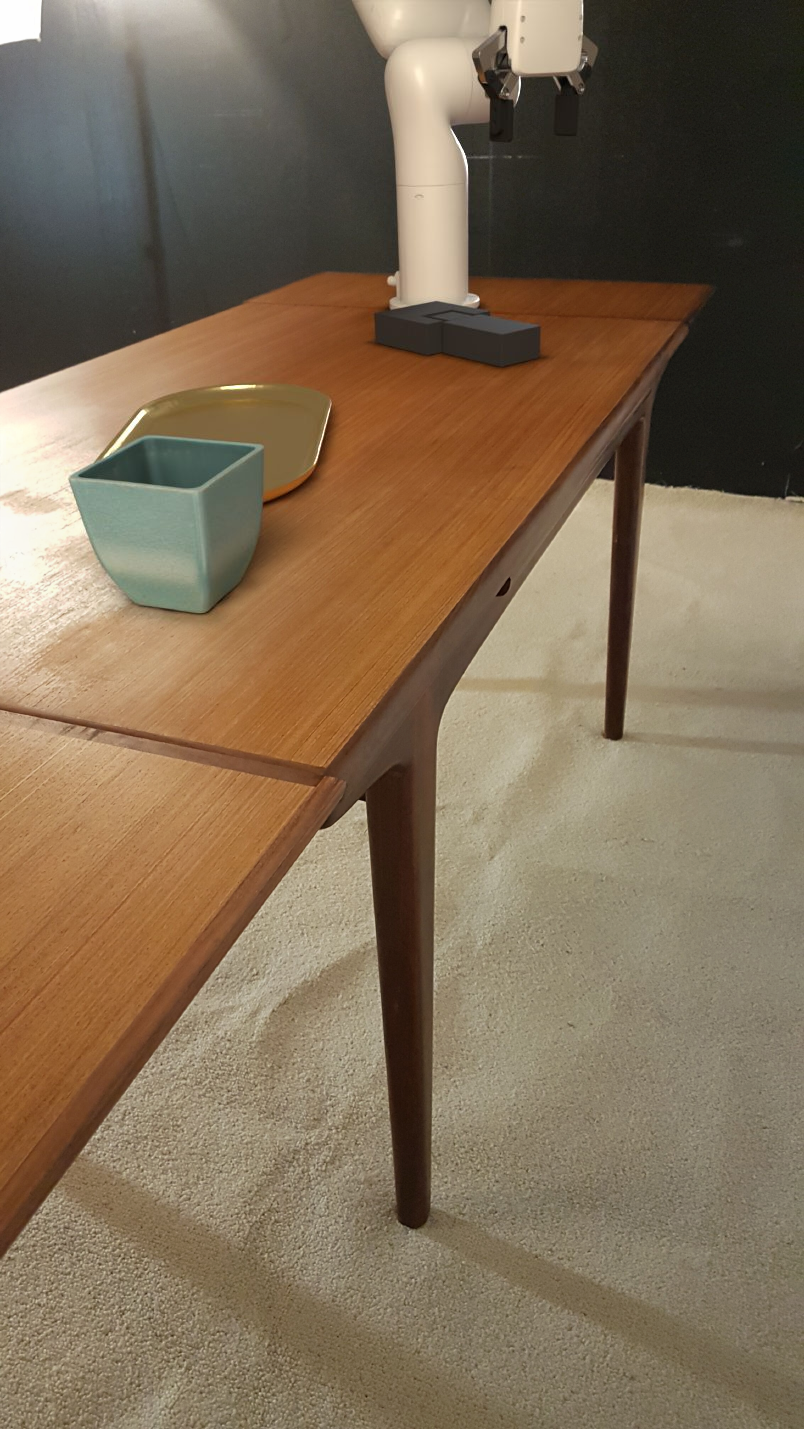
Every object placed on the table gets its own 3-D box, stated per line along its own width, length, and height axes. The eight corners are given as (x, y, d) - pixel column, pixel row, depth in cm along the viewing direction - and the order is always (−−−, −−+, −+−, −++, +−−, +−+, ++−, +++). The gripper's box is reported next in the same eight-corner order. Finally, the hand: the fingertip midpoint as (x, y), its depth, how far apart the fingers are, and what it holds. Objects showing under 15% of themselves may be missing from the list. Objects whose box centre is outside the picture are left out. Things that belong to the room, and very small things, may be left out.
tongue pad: (422, 348, 123) (422, 317, 121) (460, 340, 126) (459, 310, 124) (501, 367, 114) (502, 334, 112) (539, 357, 117) (541, 325, 115)
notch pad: (375, 342, 126) (373, 312, 125) (436, 329, 132) (436, 300, 130) (427, 355, 120) (426, 324, 118) (490, 341, 125) (490, 310, 123)
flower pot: (281, 574, 68) (267, 441, 63) (219, 634, 61) (198, 490, 56) (166, 561, 71) (143, 432, 66) (94, 617, 64) (63, 477, 59)
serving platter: (60, 527, 77) (55, 507, 76) (159, 401, 107) (157, 385, 106) (308, 519, 77) (306, 499, 76) (338, 395, 106) (337, 379, 105)
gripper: (575, -49, 111) (565, 131, 121) (452, -52, 103) (452, 142, 112) (627, -54, 106) (612, 134, 116) (502, -58, 98) (497, 146, 107)
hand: (533, 138), depth 114 cm, fingers open, 9 cm apart
